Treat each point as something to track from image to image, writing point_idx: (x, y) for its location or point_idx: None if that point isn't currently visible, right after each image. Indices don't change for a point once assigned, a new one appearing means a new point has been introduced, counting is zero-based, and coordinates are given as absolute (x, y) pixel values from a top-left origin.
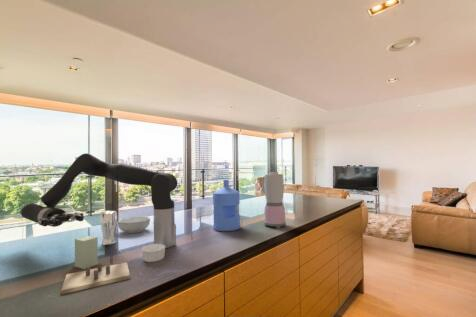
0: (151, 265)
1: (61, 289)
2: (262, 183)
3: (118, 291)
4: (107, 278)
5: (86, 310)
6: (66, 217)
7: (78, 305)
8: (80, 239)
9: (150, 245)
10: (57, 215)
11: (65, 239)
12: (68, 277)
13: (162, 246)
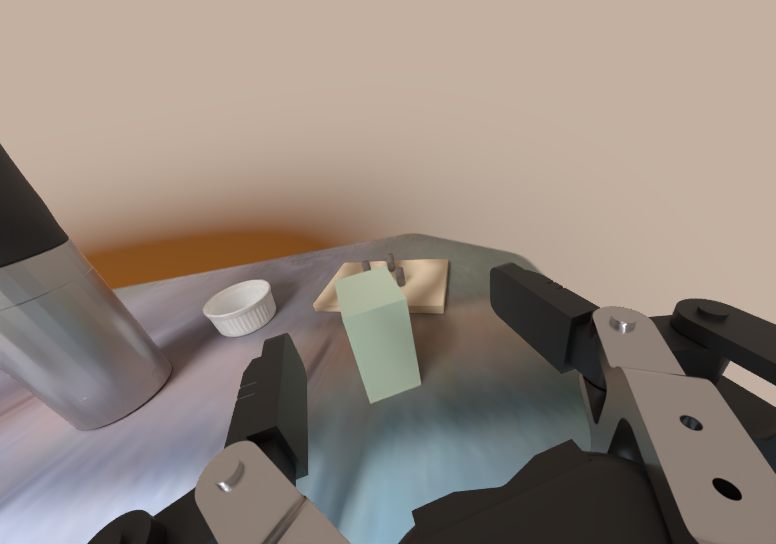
0: (287, 291)
1: (447, 260)
2: None
3: (376, 250)
4: (376, 264)
5: (418, 235)
6: (438, 512)
7: (425, 242)
8: (389, 283)
9: (220, 315)
10: (684, 537)
11: None
12: (438, 290)
13: (212, 305)
